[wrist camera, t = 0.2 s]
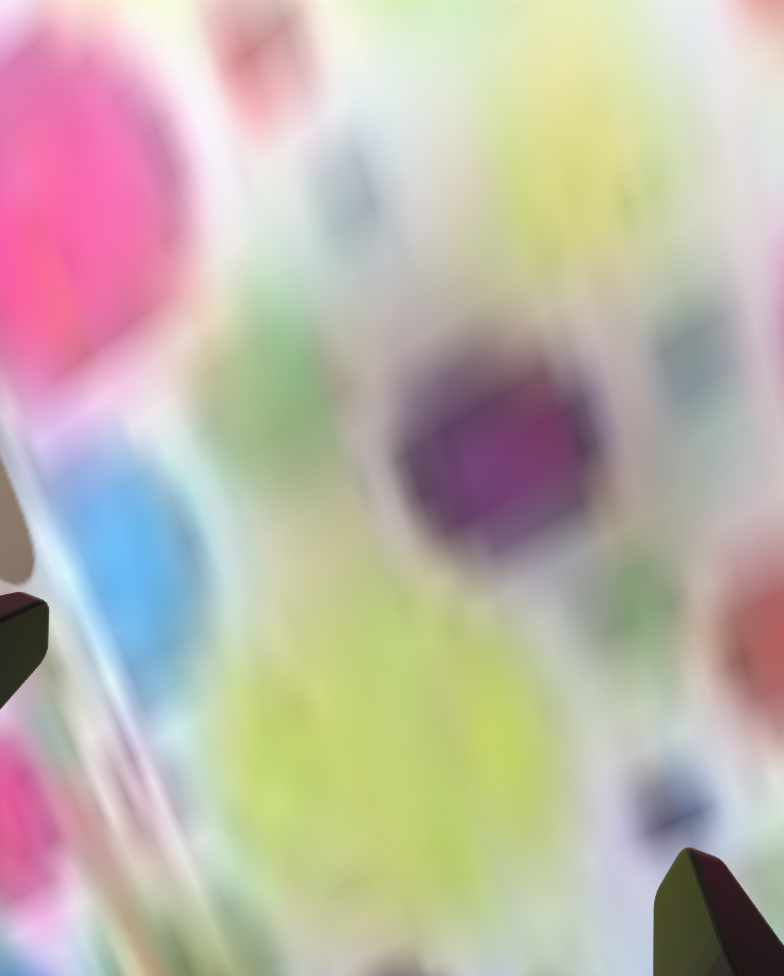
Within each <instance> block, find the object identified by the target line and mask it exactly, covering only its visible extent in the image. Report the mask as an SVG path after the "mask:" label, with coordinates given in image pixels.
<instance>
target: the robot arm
mask: <svg viewBox="0 0 784 976" xmlns="http://www.w3.org/2000/svg"><path fill="white" fill-rule="evenodd" d="M48 635H49V607H48V604H47V602H45V601H44V600H42V599H40V598H37V597H35V596H32V595H29V594H27V593H23V592H15V593H10V594H6V595H1V596H0V709H1V708H2V707H3V706H4V705H5V704H6V703H7V701H8V700H9V699H10V698H11V697H12V696H13V695H14V693H15V692H16V691H17V690H18V689H19V688H20V687H21V685H22V684H23V683H24V682H25V681H26V680H27V679H28V677H29V676H30V675H31V674H32V673H33V672H34V671H35V670H36V668H37V667H38V666H39V665H40V664H41V662H42V661H43V659H44V657H45V655H46V652H47V649H48ZM653 976H784V945H783V944H782V942H781V941H780V940H779V938H778V937H777V936H776V934H775V933H774V931H773V930H772V929H771V927H770V926H769V924H768V923H767V922H766V920H765V919H764V917H763V916H762V915H761V913H760V912H759V910H758V909H757V908H756V906H755V905H754V904H753V902H752V901H751V899H750V898H749V897H748V895H747V894H746V892H745V891H744V890H743V888H742V887H741V885H740V884H739V883H738V881H737V880H736V878H735V877H734V876H733V874H732V873H731V872H730V870H729V869H728V867H727V866H726V865H725V864H724V862H723V861H721V860H720V859H719V858H717V857H715V856H712V855H710V854H707V853H705V852H702V851H699V850H697V849H694V848H691V847H686V848H684V849H683V850H681V852H680V853H679V854H678V856H677V857H676V859H675V861H674V862H673V864H672V866H671V868H670V869H669V871H668V873H667V874H666V876H665V878H664V879H663V881H662V883H661V884H660V886H659V888H658V890H657V893H656V897H655V901H654V927H653Z"/></svg>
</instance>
